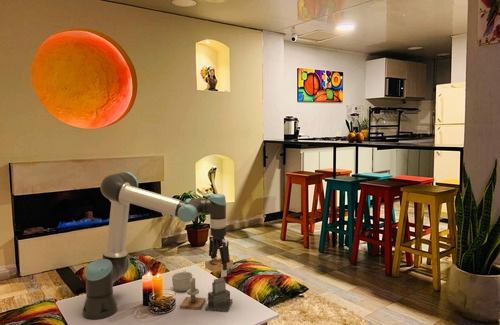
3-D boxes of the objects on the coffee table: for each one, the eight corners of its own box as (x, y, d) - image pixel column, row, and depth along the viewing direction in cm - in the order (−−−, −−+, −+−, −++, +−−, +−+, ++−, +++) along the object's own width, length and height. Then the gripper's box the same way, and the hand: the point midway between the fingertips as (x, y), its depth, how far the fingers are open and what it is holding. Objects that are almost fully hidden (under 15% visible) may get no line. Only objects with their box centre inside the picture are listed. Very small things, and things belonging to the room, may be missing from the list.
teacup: (188, 294, 200) (188, 279, 200) (168, 292, 203) (168, 277, 202) (197, 283, 214) (197, 269, 213) (178, 282, 216) (178, 268, 216)
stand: (179, 308, 184) (179, 282, 183) (186, 299, 194) (185, 274, 193) (200, 309, 182) (199, 283, 181) (205, 300, 192) (205, 275, 191)
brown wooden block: (213, 272, 178) (213, 265, 178) (205, 267, 184) (204, 261, 184) (233, 266, 185) (233, 260, 185) (224, 262, 191) (224, 256, 191)
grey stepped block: (205, 310, 182) (204, 282, 181) (210, 300, 192) (210, 274, 191) (228, 312, 180) (227, 283, 179) (232, 301, 191) (232, 275, 190)
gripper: (237, 229, 177) (237, 278, 179) (213, 221, 194) (214, 266, 195) (223, 232, 173) (224, 282, 175) (200, 224, 189) (201, 269, 191)
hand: (219, 273), depth 185 cm, fingers closed on brown wooden block, 7 cm apart
